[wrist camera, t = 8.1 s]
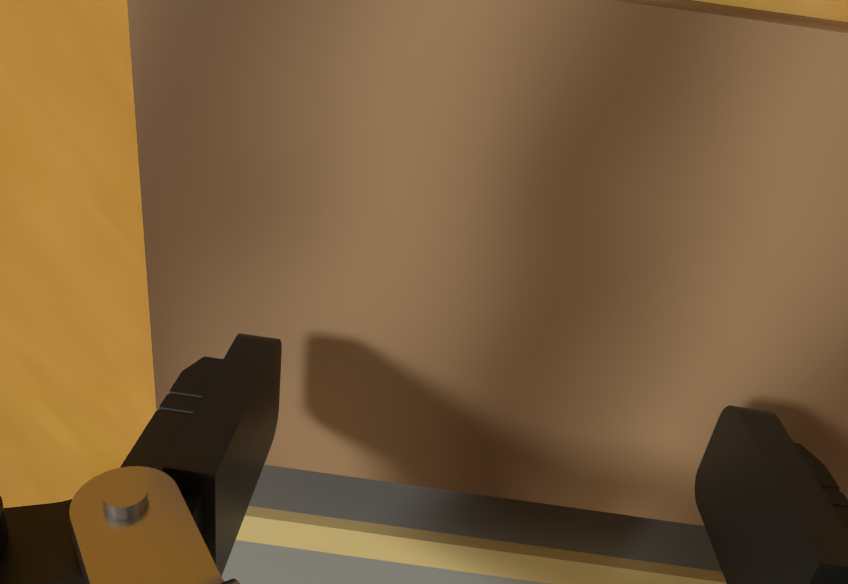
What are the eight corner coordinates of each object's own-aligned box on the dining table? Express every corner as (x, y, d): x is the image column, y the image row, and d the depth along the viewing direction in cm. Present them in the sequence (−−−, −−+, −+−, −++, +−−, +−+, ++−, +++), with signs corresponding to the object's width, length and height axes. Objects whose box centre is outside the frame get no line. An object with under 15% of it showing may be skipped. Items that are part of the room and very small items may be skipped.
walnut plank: (1094, 57, 12) (1198, 83, 11) (855, 486, 17) (898, 553, 15) (172, -73, 12) (121, -70, 10) (192, 393, 17) (159, 449, 15)
